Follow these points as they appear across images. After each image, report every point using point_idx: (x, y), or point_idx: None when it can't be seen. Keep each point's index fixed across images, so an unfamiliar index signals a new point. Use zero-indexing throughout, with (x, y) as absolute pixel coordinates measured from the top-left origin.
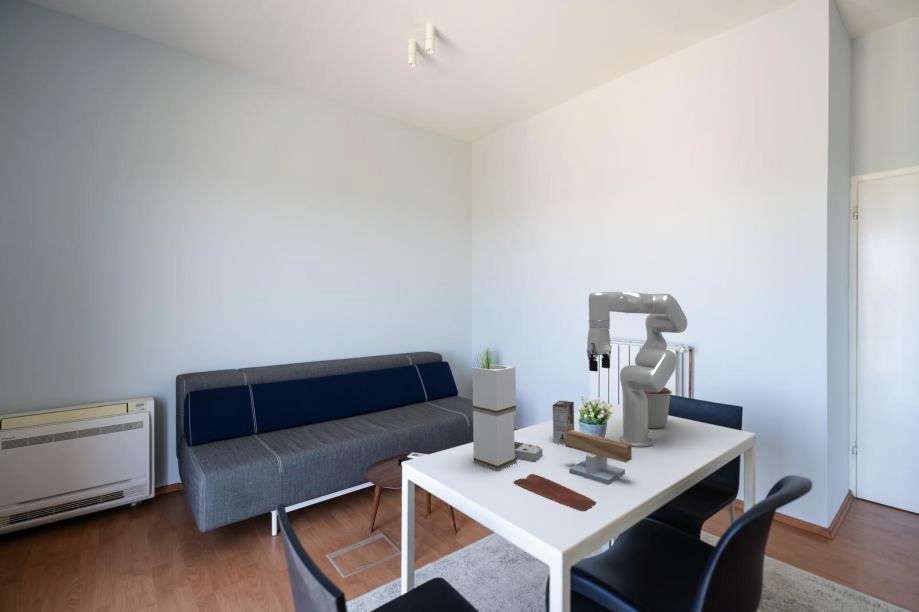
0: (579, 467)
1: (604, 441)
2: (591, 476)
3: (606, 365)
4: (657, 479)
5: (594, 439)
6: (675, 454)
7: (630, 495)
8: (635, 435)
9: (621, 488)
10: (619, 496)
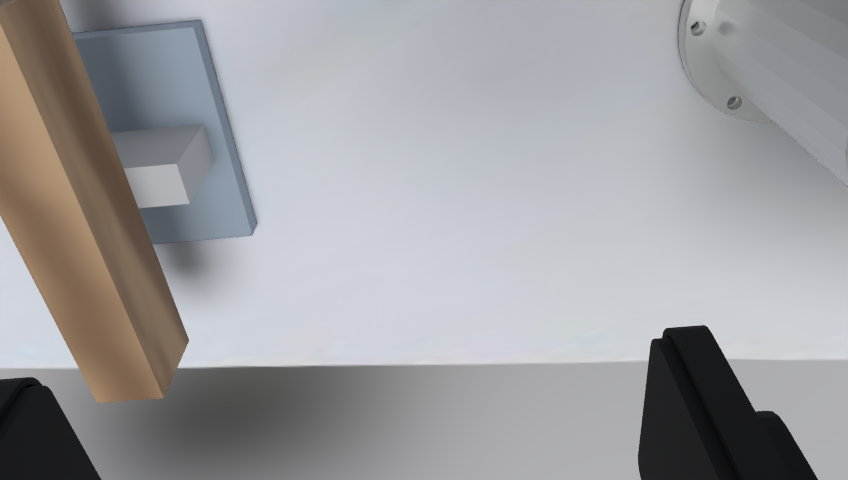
0: None
1: (52, 301)
2: None
3: (662, 477)
4: (322, 326)
5: (18, 247)
6: (692, 254)
7: None
8: (735, 75)
9: None
10: None
